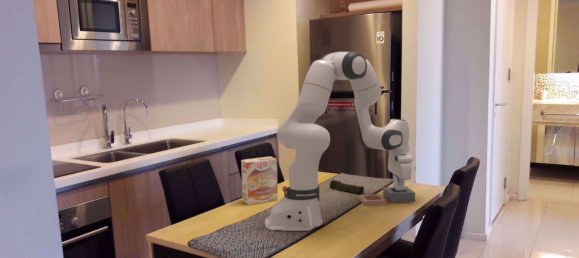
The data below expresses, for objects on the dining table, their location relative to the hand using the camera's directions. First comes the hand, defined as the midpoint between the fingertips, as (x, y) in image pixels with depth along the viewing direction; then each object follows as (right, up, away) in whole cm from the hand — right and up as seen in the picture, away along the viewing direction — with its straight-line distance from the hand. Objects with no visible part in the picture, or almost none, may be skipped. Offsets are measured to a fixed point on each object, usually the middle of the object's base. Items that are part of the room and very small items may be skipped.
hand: (398, 185), depth 197 cm
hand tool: (-22, -5, +15) cm, 27 cm away
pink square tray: (-13, -7, -3) cm, 15 cm away
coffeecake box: (-62, -8, +3) cm, 63 cm away
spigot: (0, -4, 0) cm, 4 cm away
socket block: (0, -6, +1) cm, 6 cm away
